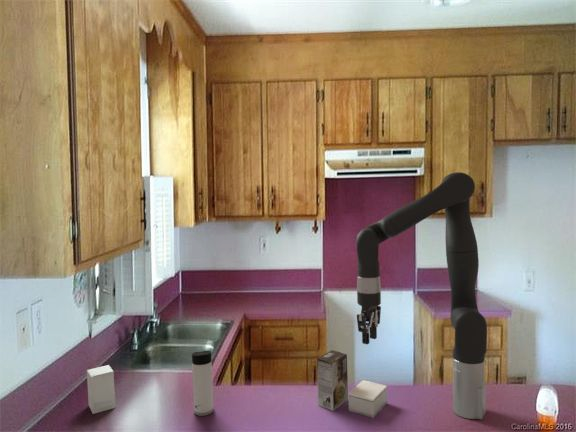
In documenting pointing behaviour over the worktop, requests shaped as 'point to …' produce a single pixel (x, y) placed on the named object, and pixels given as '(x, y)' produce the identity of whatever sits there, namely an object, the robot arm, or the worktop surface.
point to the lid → (367, 390)
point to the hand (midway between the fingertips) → (369, 340)
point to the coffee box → (332, 380)
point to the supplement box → (101, 389)
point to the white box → (367, 405)
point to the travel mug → (202, 383)
